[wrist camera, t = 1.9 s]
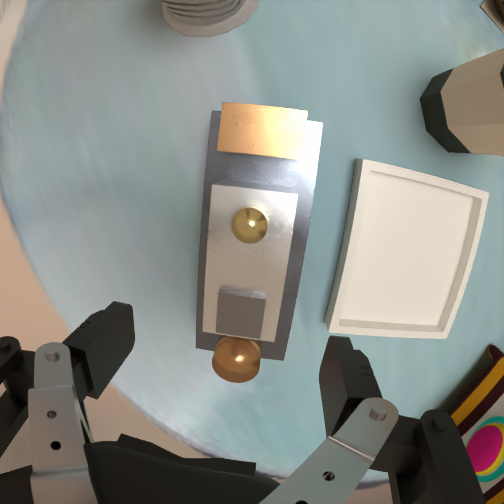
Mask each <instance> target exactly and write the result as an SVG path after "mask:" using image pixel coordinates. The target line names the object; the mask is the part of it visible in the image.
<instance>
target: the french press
mask: <svg viewBox="0 0 504 504" xmlns="http://www.w3.org/2000/svg"><path fill="white" fill-rule="evenodd" d="M258 1H259V0H162V11H163V18H164V19H165V21H166V22H167V23H168V24H169V26H170V27H171V28H172V29H173V30H175V31H177V32H180V33H182V34H184V35H186V36H197V37H209V36H213V35H218V34H222V33H227V32H228V31H230V30H232V29H234V28H235V27H237V26H239V25H241V24H243V23H244V22H245V21H246V20H247V19H248V18H249V17H250V16H251V14H252V13H253V12H254V11H255V10H256V8H257V4H258Z"/></svg>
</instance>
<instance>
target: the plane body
mask: <svg viewBox="0 0 504 504" xmlns="http://www.w3.org/2000/svg"><path fill="white" fill-rule="evenodd" d="M307 113H308V111H303V110H296V109H288V108H280V107H272V106H263V105H252V104H240V103H226V102H223V103H222V111H212V115H211V123H210V132H209V142H208V151H207V161H206V172H205V183H204V195H203V207H202V220H201V235H200V251H199V269H198V290H197V317H196V348H199V349H205V350H211V351H215V353H214V356H213V359H212V366H213V369H214V371H215V372H216V373H217V375H219V376H220V377H221V378H223V379H225V380H227V381H230V382H235V383H242V382H247V381H249V380H251V379H253V378H254V377H255V376H256V375H257V374H258V371H259V367H260V358H265V359H274V360H283V361H284V357H285V352H286V347H287V343H288V338H289V333H290V328H291V323H292V318H293V313H294V308H295V303H296V298H297V292H298V287H299V281H300V276H301V270H302V265H303V259H304V253H305V247H306V241H307V235H308V229H309V223H310V216H311V210H312V203H313V196H314V189H315V182H316V175H317V168H318V160H319V152H320V144H321V136H322V127H323V123H321V122H315V121H309V120H307ZM224 179H231V180H240V181H249V182H257V183H266V184H274V185H281V186H289V187H294V188H295V190H296V192H297V194H298V198H297V205H296V212H295V219H294V226H293V233H292V239H291V246H290V252H289V259H288V265H287V271H286V278H285V284H284V290H283V296H282V301H281V307H280V313H279V319H278V324H277V330H276V336H275V341H274V342H270V341H262V340H255V339H247V338H240V337H233V336H227V335H220V334H214V333H208V332H203V310H204V289H205V272H206V256H207V241H208V228H209V215H210V203H211V191H212V184H214V183H217V182H219V181H221V180H224Z"/></svg>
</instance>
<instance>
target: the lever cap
mask: <svg viewBox="0 0 504 504" xmlns="http://www.w3.org/2000/svg"><path fill="white" fill-rule="evenodd" d="M297 198H298V194H297V192H296V190H295V188H294V187H289V186H281V185H274V184H266V183H257V182H249V181H240V180H231V179H224V180H221V181H219V182H217V183H214V184H212V191H211V203H210V215H209V228H208V241H207V256H206V272H205V289H204V310H203V332H208V333H214V334H220V335H227V336H233V337H240V338H247V339H255V340H262V341H270V342H274V341H275V336H276V330H277V324H278V319H279V313H280V307H281V301H282V296H283V290H284V284H285V278H286V271H287V265H288V259H289V252H290V246H291V239H292V233H293V226H294V219H295V212H296V205H297Z"/></svg>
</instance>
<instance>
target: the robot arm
mask: <svg viewBox="0 0 504 504" xmlns="http://www.w3.org/2000/svg"><path fill="white" fill-rule="evenodd" d="M134 342H135V332H134V320H133V309H132V306H131V305H130V304H125V303H120V302H116V301H114V302H112V303H111V304H110V305H109V306H108V307H107V308H106V309H105V310H100V311H98V312H96V313H94V314H92V315H91V316H89V317H88V318H87V319H86V320H85V322H83V323H82V324H81V325H80V326H79V327H78V328H77V329H76V330H75V331H74V332H72V333H71V334H70V335H69V336H68V337H67V338H66V339H65V340H64V341H63V342H62V343H58V342H51V343H47V344H44V345H42V346H41V347H39V348H38V349H37V351H36V352H33V351H26V350H22V349H21V346H20V343H19V341H18V340H17V339H16V338H14V337H10V336H5V337H1V338H0V384H1V383H2V382H3V384H4V386H5V388H6V391H5V392H4V393H3V395H2V396H1V397H0V458H1V456H2V455H3V453H4V452H5V450H6V449H7V447H8V446H9V444H10V443H11V441H12V440H13V438H14V437H15V435H16V434H17V432H18V431H19V430H20V428H21V427H22V425H23V424H24V422H25V421H26V420H27V418H28V417H29V435H30V448H31V457H32V465H29V466H26V467H23V468H19V469H16V470H13V471H10V472H6V473H3V474H0V504H343V503H344V502H345V501H346V499H347V498H348V497H349V496H350V494H351V493H352V492H353V490H354V489H355V488H356V486H357V485H358V483H359V482H360V481H361V479H362V478H363V476H364V475H365V473H366V472H367V470H368V469H372V470H377V471H382V472H388V475H389V481H390V487H391V493H392V500H393V504H486V502H485V498H484V495H483V492H482V490H481V487H480V484H479V481H478V478H477V475H476V473H475V470H474V467H473V465H472V462H471V460H470V457H469V455H468V452H467V450H466V447H465V445H464V442H463V440H462V438H461V435H460V433H459V431H458V428H457V426H456V424H455V422H454V420H453V418H452V417H451V416H450V415H448V414H447V413H445V412H443V411H440V410H429V411H426V412H425V413H424V414H423V415H422V417H421V418H420V419H415V418H410V417H405V416H401V415H399V413H398V410H397V408H396V407H395V406H394V405H393V404H392V403H391V402H389V401H387V400H385V399H383V398H382V395H381V392H380V389H379V387H378V384H377V381H376V378H375V376H374V373H373V370H372V368H371V365H370V363H369V360H368V358H367V357H366V356H365V355H364V354H363V353H362V352H361V351H360V350H354V349H353V346H352V343H351V341H350V338H349V337H342V336H330V337H329V339H328V342H327V346H326V349H325V353H324V356H323V360H322V363H321V367H320V372H319V384H320V391H321V398H322V405H323V413H324V420H325V428H326V436H327V438H326V439H325V440H324V442H323V443H322V444H321V445H320V446H319V447H318V448H317V449H316V450H315V451H314V452H313V453H312V454H311V455H310V456H309V457H308V458H307V459H306V460H305V462H304V463H303V464H302V465H301V466H299V467H298V468H297V469H296V470H295V471H294V472H293V473H292V474H291V475H290V476H289V477H288V478H287V479H286V480H285V481H284V482H283V483H282V484H280V483H278V482H277V481H275V480H273V479H272V478H270V477H267V476H265V475H263V474H260V473H257V472H255V469H256V463H253V462H245V461H237V460H230V459H224V458H182V457H180V456H178V455H175V454H173V453H171V452H169V451H167V450H165V449H163V448H161V447H159V446H157V445H155V444H153V443H151V442H147V441H144V440H141V439H137V438H134V437H130V436H128V435H125V434H121V435H120V437H119V439H118V441H100V442H94V440H93V436H92V432H91V428H90V424H89V420H88V415H87V411H86V406H85V403H84V399H85V398H86V396H89V397H92V398H94V399H98V398H99V396H100V395H101V394H102V392H103V391H104V389H105V388H106V386H107V385H108V383H109V382H110V381H111V379H112V378H113V376H114V375H115V373H116V372H117V370H118V369H119V368H120V366H121V365H122V363H123V362H124V361H125V359H126V358H127V356H128V355H129V353H130V352H131V351H132V349H133V346H134Z"/></svg>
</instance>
